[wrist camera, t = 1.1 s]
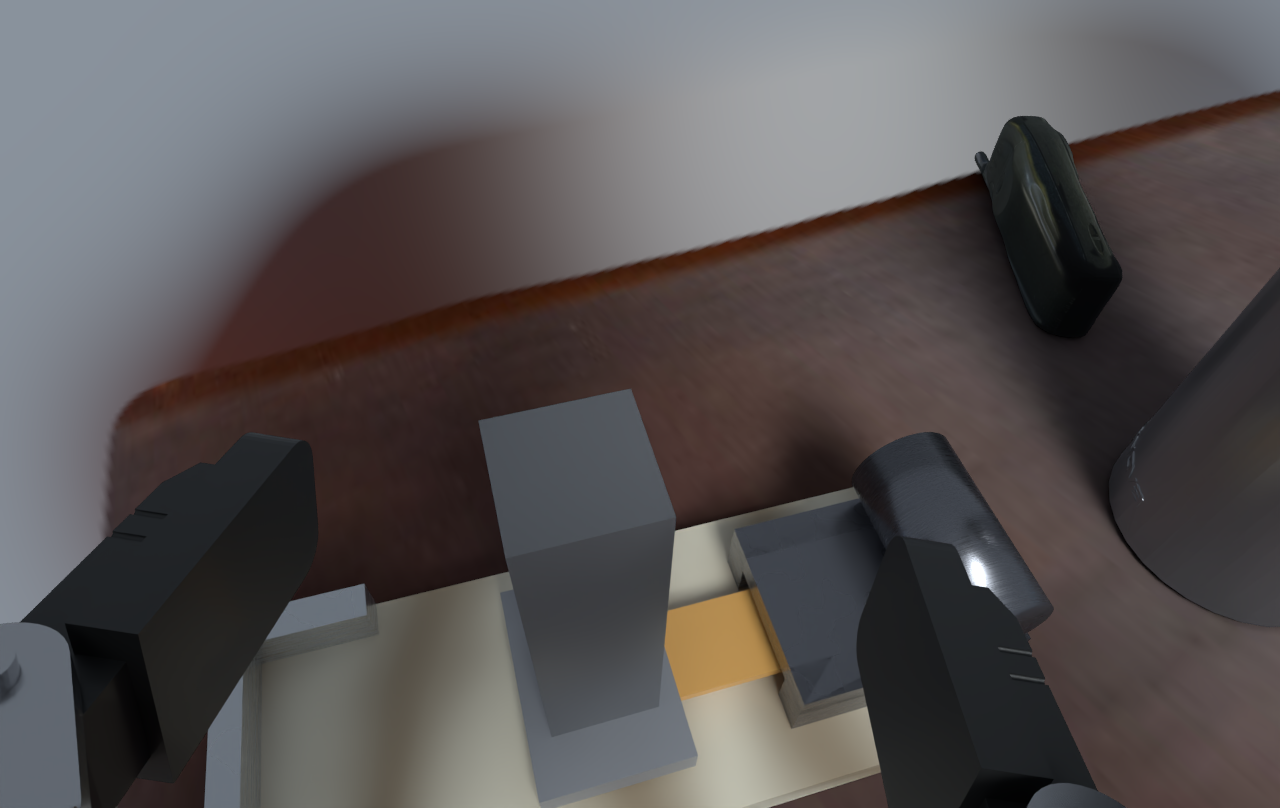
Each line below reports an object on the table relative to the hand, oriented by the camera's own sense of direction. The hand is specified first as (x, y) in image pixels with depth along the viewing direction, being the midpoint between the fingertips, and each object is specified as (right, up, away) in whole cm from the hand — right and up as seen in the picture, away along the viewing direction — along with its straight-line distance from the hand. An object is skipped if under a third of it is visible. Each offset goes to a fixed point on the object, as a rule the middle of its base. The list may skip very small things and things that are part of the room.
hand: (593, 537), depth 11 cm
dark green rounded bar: (+22, +11, +34) cm, 42 cm away
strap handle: (+5, -6, +17) cm, 19 cm away
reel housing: (+9, -6, +18) cm, 21 cm away
